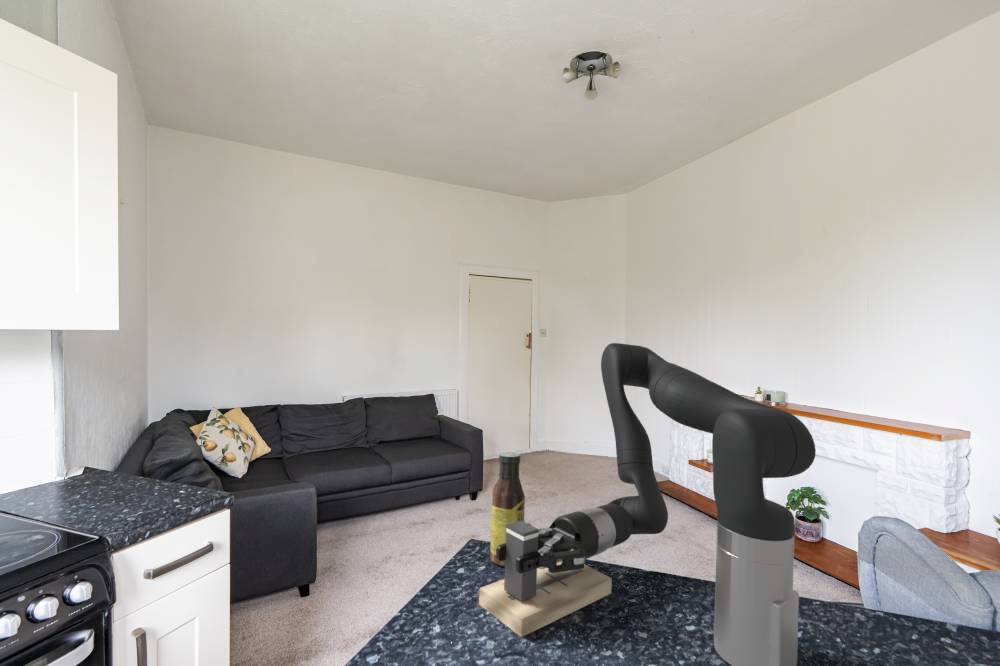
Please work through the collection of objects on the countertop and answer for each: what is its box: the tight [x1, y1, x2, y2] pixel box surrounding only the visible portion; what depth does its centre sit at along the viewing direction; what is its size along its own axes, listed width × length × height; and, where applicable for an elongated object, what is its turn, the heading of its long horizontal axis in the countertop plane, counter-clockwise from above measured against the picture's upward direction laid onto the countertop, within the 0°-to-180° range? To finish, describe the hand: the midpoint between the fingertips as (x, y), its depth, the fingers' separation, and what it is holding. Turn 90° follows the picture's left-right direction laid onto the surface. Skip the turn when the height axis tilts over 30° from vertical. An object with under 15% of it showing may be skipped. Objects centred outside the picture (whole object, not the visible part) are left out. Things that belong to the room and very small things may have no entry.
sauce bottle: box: [489, 451, 526, 567], centre depth 88 cm, size 7×6×20 cm
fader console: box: [478, 561, 613, 638], centre depth 75 cm, size 10×20×3 cm, turn 129°
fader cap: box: [504, 521, 539, 601], centre depth 72 cm, size 4×3×10 cm
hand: (507, 559), depth 70 cm, fingers closed on fader cap, 4 cm apart
